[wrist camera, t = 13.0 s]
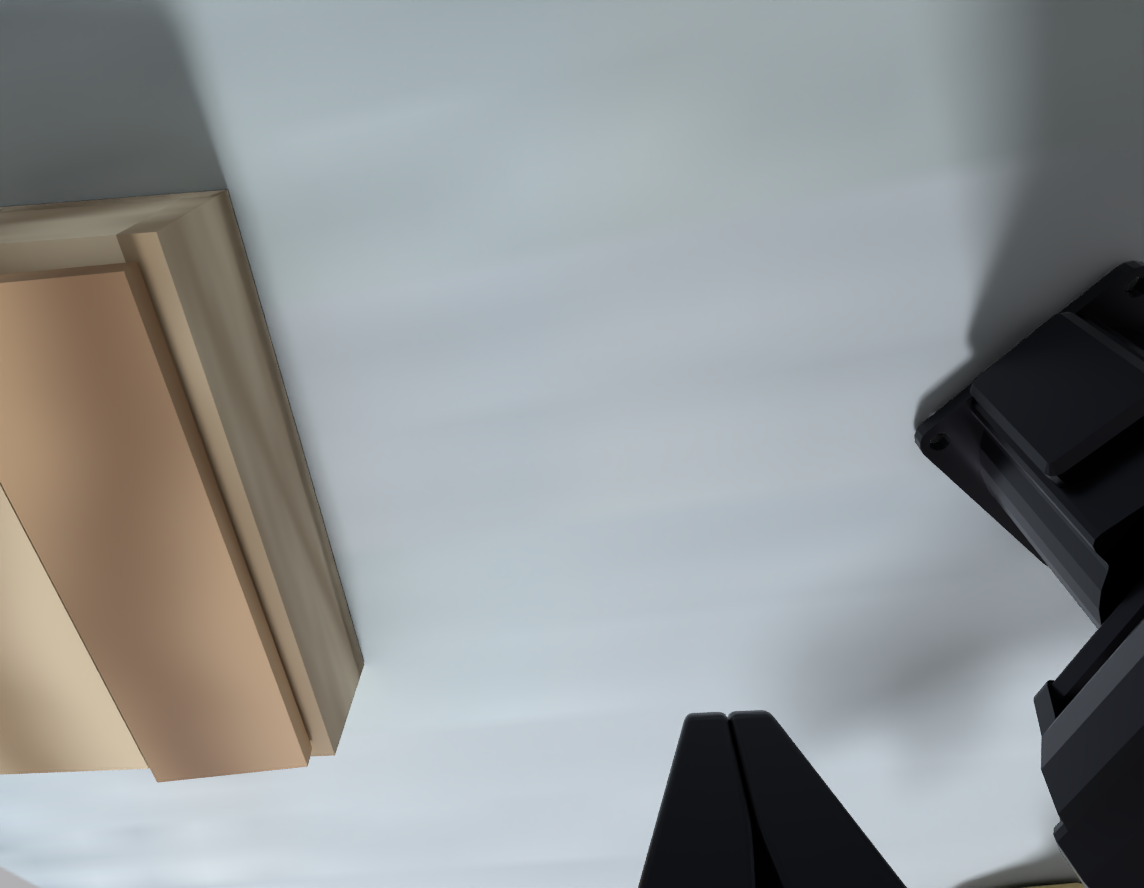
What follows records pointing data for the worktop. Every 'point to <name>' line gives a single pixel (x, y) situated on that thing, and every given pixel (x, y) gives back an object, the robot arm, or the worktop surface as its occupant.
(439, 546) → the worktop surface
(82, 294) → the flap
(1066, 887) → the toy
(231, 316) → the plywood box
